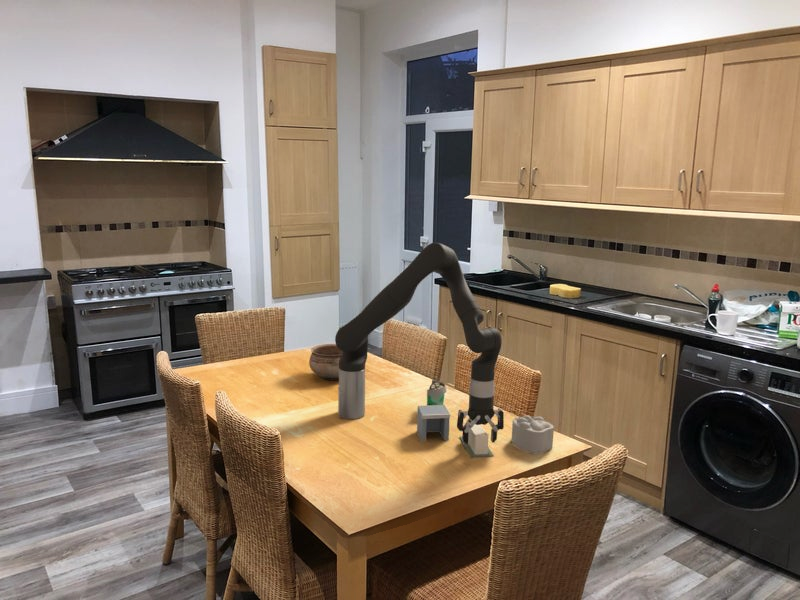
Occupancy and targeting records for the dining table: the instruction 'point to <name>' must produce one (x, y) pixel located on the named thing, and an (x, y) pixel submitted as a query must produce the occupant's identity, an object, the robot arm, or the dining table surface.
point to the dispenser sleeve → (433, 420)
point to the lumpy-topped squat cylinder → (532, 434)
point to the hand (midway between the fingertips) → (479, 442)
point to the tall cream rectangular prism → (478, 439)
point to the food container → (436, 393)
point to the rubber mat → (473, 452)
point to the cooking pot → (326, 361)
